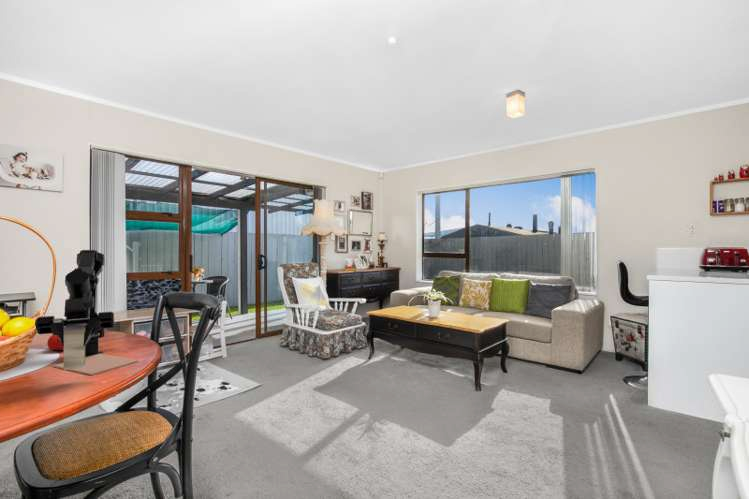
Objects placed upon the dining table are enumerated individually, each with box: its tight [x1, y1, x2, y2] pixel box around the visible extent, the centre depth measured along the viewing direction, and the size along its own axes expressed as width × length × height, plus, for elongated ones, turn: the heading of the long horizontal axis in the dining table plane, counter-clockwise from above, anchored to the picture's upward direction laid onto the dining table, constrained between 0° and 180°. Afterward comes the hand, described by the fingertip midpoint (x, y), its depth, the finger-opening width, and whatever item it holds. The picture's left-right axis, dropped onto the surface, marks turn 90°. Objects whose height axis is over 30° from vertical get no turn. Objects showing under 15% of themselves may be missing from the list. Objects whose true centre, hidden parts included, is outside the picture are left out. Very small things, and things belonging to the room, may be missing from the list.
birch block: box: [63, 323, 85, 371], centre depth 109 cm, size 4×4×12 cm
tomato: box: [46, 334, 64, 351], centre depth 144 cm, size 10×11×7 cm
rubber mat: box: [52, 353, 139, 377], centre depth 126 cm, size 21×15×1 cm
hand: (74, 346), depth 108 cm, fingers closed on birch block, 4 cm apart
